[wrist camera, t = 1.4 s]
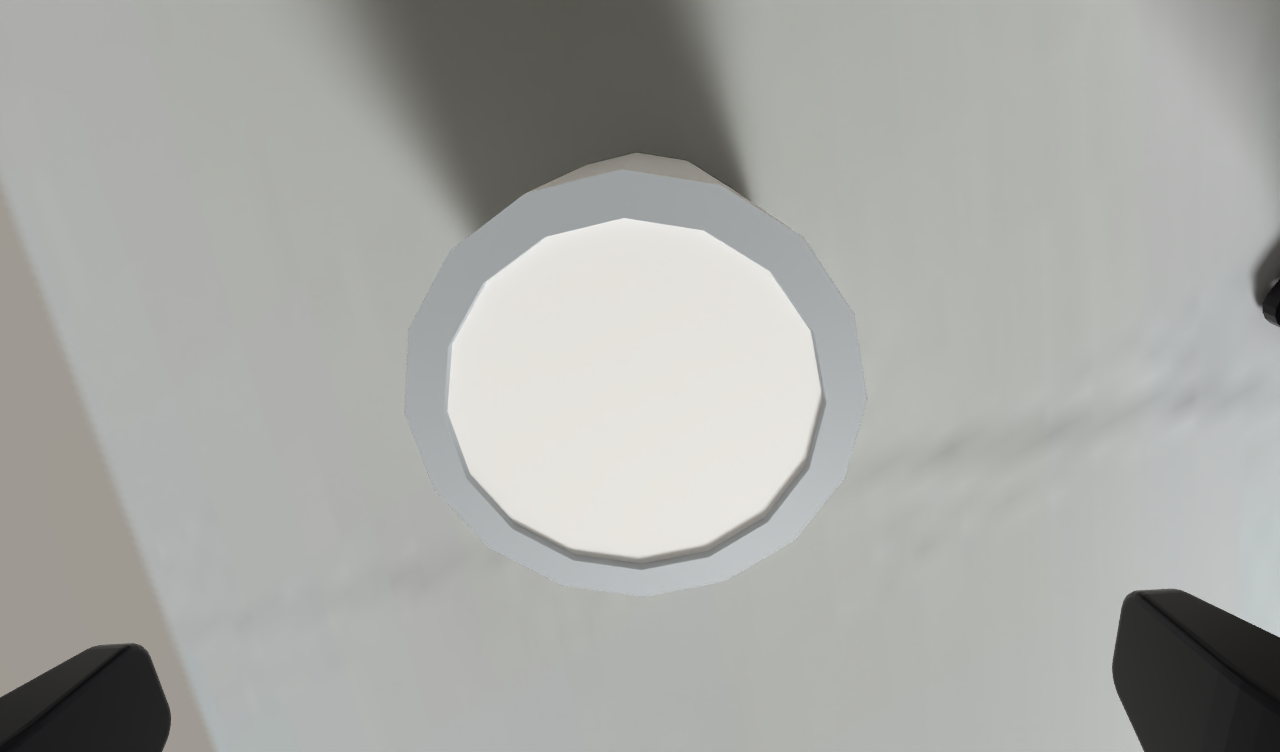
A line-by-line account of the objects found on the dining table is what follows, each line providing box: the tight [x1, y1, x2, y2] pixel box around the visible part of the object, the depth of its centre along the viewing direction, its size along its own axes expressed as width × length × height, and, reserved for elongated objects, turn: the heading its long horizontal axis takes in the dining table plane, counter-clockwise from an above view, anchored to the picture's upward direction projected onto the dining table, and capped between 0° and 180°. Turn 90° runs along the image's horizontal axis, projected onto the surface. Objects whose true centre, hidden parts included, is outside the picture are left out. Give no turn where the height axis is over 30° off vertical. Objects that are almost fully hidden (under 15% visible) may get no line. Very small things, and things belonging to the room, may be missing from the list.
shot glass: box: [405, 152, 867, 597], centre depth 15 cm, size 7×7×7 cm
